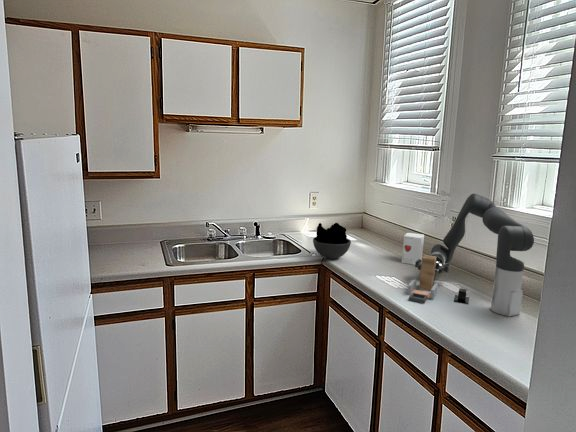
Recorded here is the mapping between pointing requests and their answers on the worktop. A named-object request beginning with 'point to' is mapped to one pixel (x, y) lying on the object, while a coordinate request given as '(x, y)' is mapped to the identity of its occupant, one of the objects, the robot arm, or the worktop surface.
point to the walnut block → (427, 272)
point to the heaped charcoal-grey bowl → (331, 241)
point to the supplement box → (412, 248)
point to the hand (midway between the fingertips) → (429, 269)
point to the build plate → (462, 297)
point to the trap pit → (418, 298)
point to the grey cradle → (430, 295)
